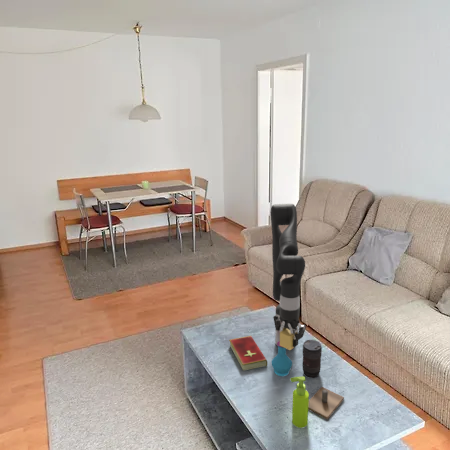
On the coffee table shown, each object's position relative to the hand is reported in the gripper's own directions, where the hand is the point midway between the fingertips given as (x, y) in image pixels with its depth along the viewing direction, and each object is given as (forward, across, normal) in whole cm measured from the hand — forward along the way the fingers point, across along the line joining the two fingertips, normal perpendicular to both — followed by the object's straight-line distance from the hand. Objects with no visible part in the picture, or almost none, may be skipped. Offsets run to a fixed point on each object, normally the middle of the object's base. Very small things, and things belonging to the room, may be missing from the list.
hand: (288, 343), depth 160 cm
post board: (+26, -13, -7) cm, 30 cm away
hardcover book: (+26, +31, -11) cm, 42 cm away
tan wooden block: (+1, 0, 0) cm, 1 cm away
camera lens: (+26, +1, -19) cm, 32 cm away
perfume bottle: (+26, +11, -12) cm, 31 cm away
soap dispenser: (+26, -11, +8) cm, 29 cm away
